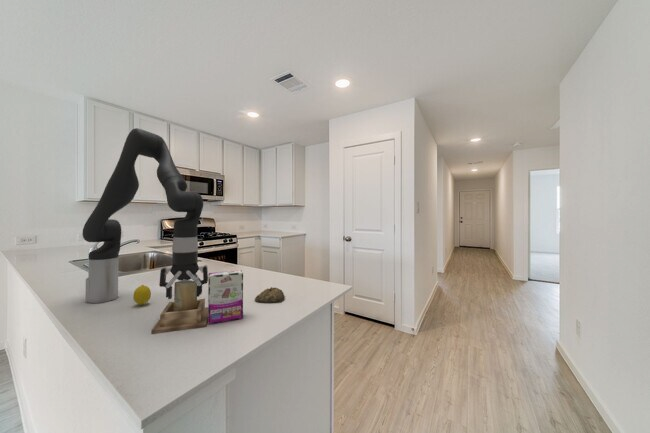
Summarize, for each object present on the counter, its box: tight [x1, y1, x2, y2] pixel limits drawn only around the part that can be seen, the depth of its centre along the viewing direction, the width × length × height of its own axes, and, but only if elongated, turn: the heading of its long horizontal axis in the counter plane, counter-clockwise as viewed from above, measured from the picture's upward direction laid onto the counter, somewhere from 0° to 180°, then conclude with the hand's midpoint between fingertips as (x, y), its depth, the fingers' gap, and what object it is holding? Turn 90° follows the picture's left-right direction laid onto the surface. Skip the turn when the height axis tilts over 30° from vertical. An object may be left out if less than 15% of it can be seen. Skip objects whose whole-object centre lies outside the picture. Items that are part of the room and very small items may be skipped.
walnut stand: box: [150, 298, 208, 335], centre depth 83 cm, size 15×15×5 cm
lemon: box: [132, 284, 152, 306], centre depth 96 cm, size 6×6×8 cm
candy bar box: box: [207, 269, 244, 325], centre depth 85 cm, size 11×5×16 cm, turn 117°
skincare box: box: [173, 279, 198, 312], centre depth 84 cm, size 6×4×12 cm
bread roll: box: [254, 287, 286, 304], centre depth 107 cm, size 13×12×5 cm
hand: (184, 297), depth 83 cm, fingers open, 8 cm apart
